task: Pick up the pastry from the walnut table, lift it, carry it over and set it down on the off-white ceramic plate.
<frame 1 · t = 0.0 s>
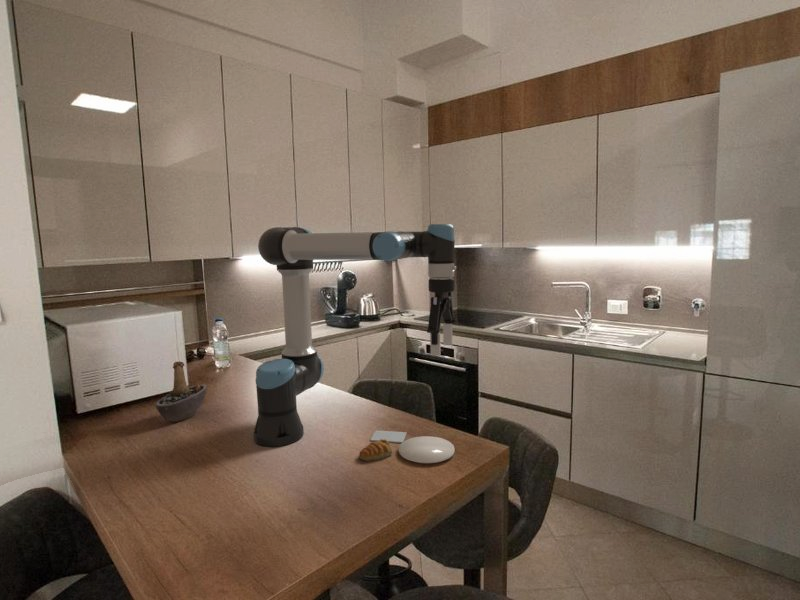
hand: (441, 349, 140), 28 cm above the table, fingers open, 13 cm apart
plate: (426, 452, 136), on the table
pastry: (376, 456, 135), on the table
napkin: (388, 437, 147), on the table
planter: (184, 418, 166), on the table
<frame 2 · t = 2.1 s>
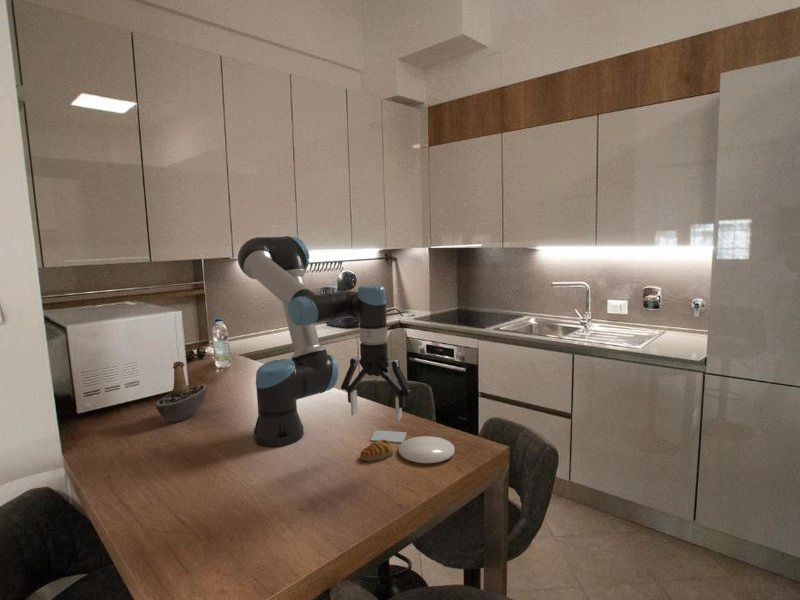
hand: (376, 416, 133), 12 cm above the table, fingers open, 13 cm apart
nothing on the table moved.
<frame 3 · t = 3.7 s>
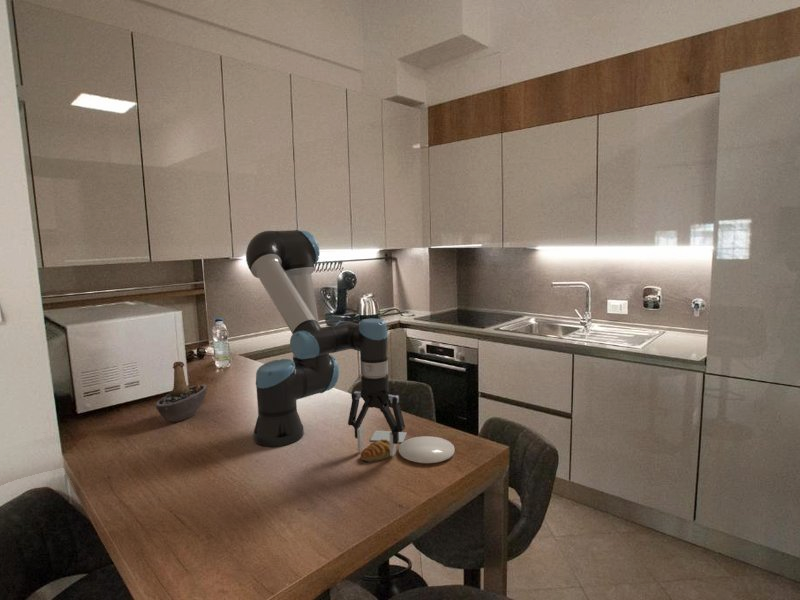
hand: (376, 451, 135), 1 cm above the table, fingers open, 9 cm apart
pastry: (378, 456, 135), on the table, touching gripper
everything else where it was.
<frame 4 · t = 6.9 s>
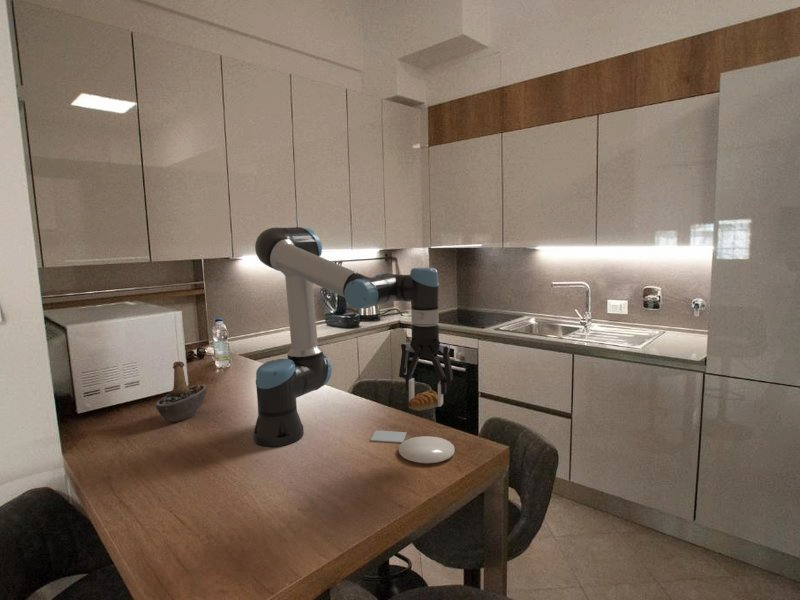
hand: (426, 403, 134), 15 cm above the table, fingers closed on pastry, 8 cm apart
pastry: (424, 407, 134), point 14 cm above the table, touching gripper
everything else where it was.
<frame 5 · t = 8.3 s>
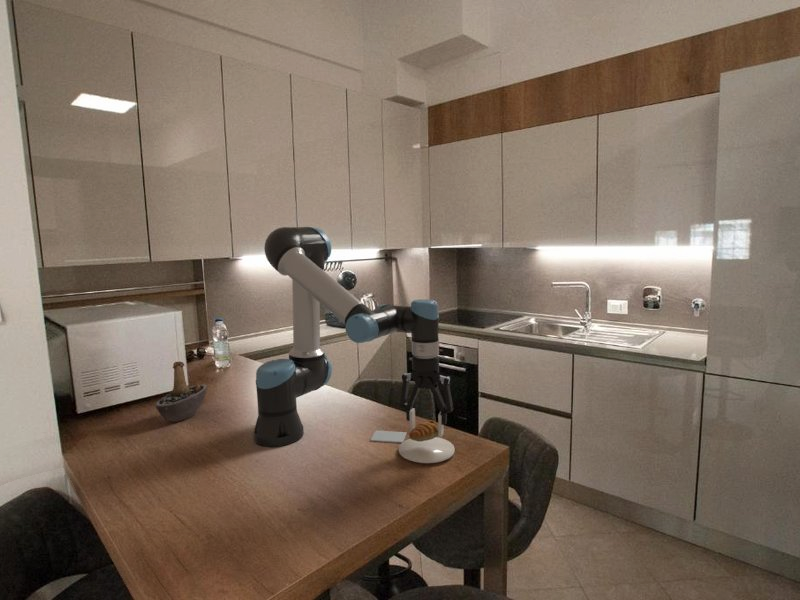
hand: (426, 433, 136), 6 cm above the table, fingers closed on pastry, 8 cm apart
pastry: (425, 437, 135), point 5 cm above the table, touching gripper
everything else where it was.
when the fingers open (3 cm above the table, at t = 9.7 s): pastry drops 1 cm, resting on plate.
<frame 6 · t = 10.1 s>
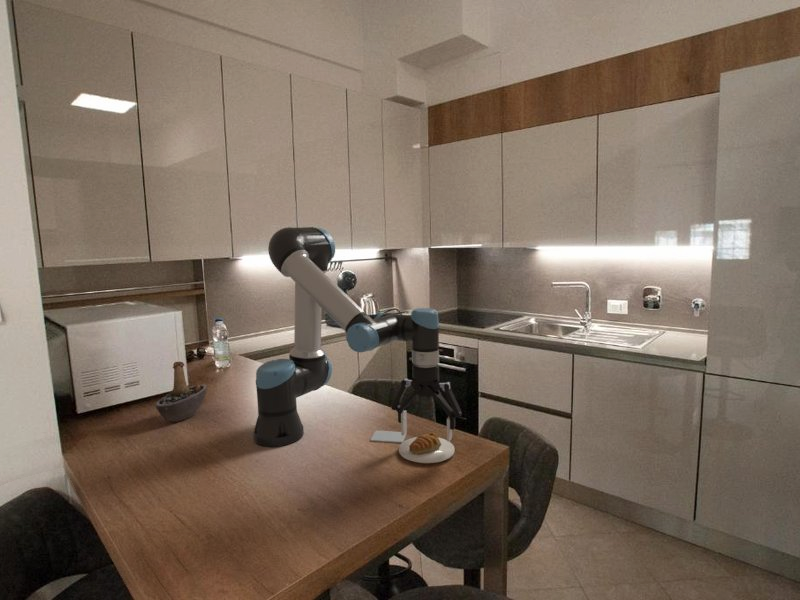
hand: (426, 436, 136), 5 cm above the table, fingers open, 13 cm apart
pastry: (425, 449, 136), point 1 cm above the table, touching plate
everything else where it was.
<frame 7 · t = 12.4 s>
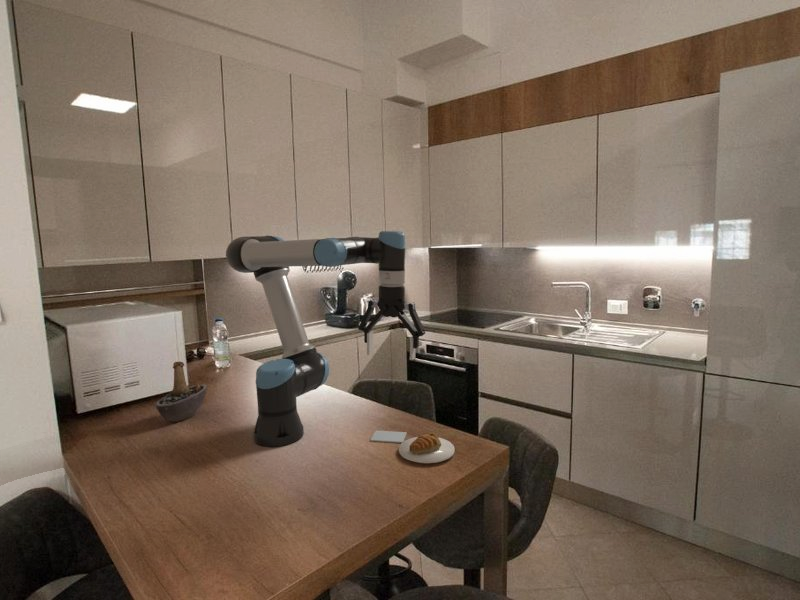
hand: (390, 356, 141), 26 cm above the table, fingers open, 13 cm apart
nothing on the table moved.
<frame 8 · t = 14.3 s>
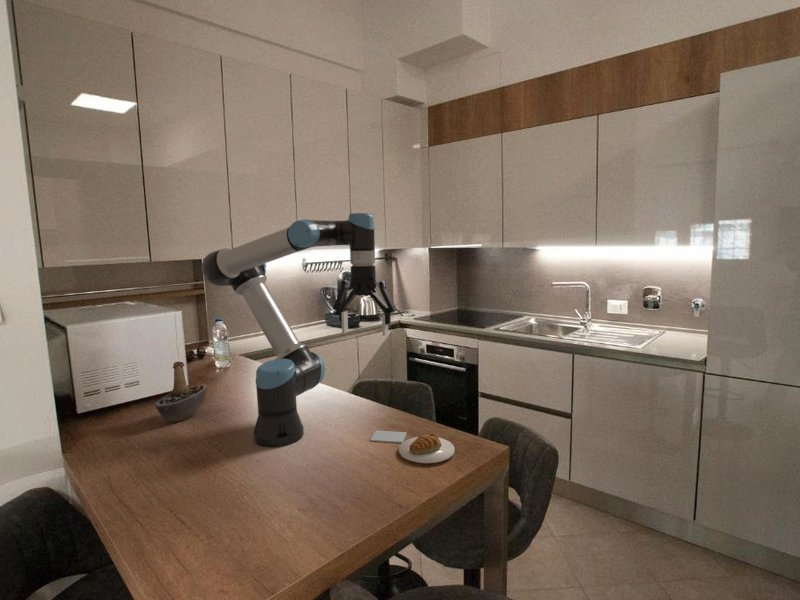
hand: (364, 333, 147), 32 cm above the table, fingers open, 13 cm apart
nothing on the table moved.
at the end: pastry 0.7 cm from the plate (horizontally); pastry touching plate; the gripper is holding nothing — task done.
